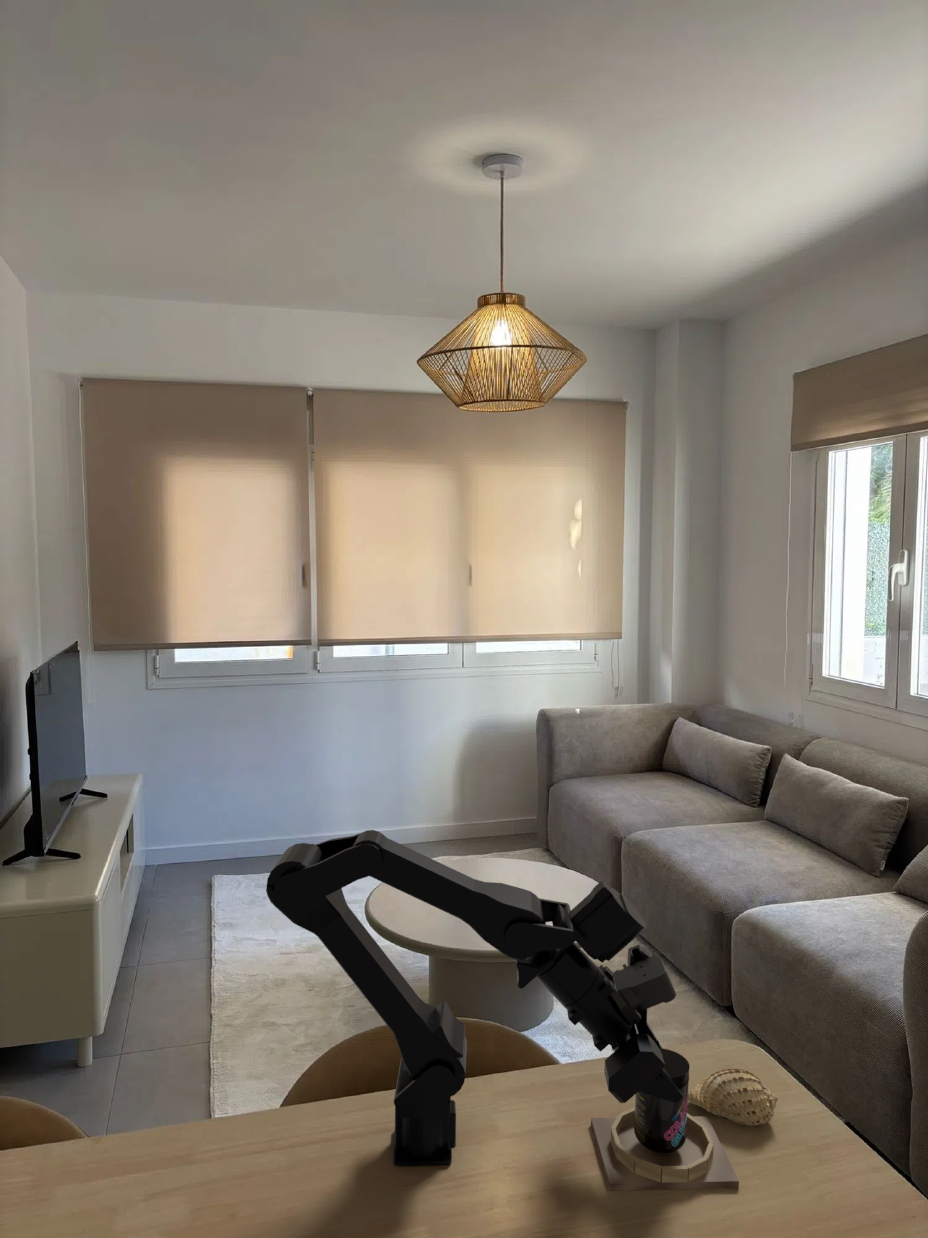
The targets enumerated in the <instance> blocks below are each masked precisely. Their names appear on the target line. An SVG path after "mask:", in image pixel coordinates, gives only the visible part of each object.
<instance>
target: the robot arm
mask: <svg viewBox="0 0 928 1238" xmlns="http://www.w3.org/2000/svg"><path fill="white" fill-rule="evenodd" d="M368 877H371V878H373V879H375V880H377V881H379V882H381V883H383V884H386V885H388V886H390V887H392V888H393V889H396V890H398V891H400V892H403V893H405V894H407V895H409V896H411V897H413V898H416V899H417V900H420V901H422V902H424V903H425V904H427V905H430V906H432V907H434V908H436V909H438V910H440V911H443V912H444V913H447V914H449V915H450V916H453V917H455V918H457V919H460V921H462V922H464V923H465V924H467V925H469V927H470V928H471V929H472V930H473V931H474V932H475V933H476V934H477V935H478V936H479V937H480V938H481V939H482V940H483V941H484V942H486V943H487V944H489V945H490V946H491V947H493V948H494V949H495V950H497V951H499V952H500V953H501V954H502V955H504V956H506V957H508V958H509V959H512V960H515V965H516V969H517V970H516V978H517V979H516V981H517V982H516V983H517V987H518V989H521V990H522V989H524V988H526V986H527V985H529V984H530V983H531V982H532V981H533V980H534V979H535V978H536V979H537V980H538V981H539V982H540V984H541V985H543V987H545V988H546V989H547V991H548V992H549V993H550V994H552V996H553V997H554V998H555V999H556V1000H557V1001H558V1002H559V1003H560V1004H561V1005H562V1006H563V1007H564V1008H565V1009H566V1010H567V1011H566V1012H567V1017H568V1020H569V1022H571V1023H572V1024H573V1025H574V1026H576V1025H577V1024H578V1023H579V1024H580V1025H581V1026H582V1027H583V1028H584V1029H585V1030H586V1031H587V1032H588V1033H589V1034H590V1035H591V1037H592V1041H593V1046H594V1047H595V1048H596V1049H597V1050H598V1051H599V1052H600V1053H601V1052H602V1051H604V1049H606V1047H608V1046H610V1047H611V1050H612V1051H613V1052H612V1053H611V1054H610V1055H609V1056H608V1057H607V1058H605V1059H604V1070H603V1072H604V1075H605V1081H606V1086H607V1091H608V1092H609V1093H610V1094H611V1095H612V1096H613V1097H614V1098H615V1100H617V1101H618V1102H619V1103H620V1104H625V1103H626V1102H628V1101H629V1100H630V1099H632V1098H633V1097H634V1096H635V1095H636V1093H637V1092H641V1093H645V1094H648V1095H652V1096H655V1097H658V1098H661V1099H664V1100H667V1101H670V1102H674V1103H678V1102H679V1101H680V1100H681V1099H682V1098H683V1095H682V1093H681V1092H680V1090H679V1089H678V1087H677V1086H676V1084H675V1083H674V1081H673V1080H672V1078H671V1077H670V1075H669V1074H668V1073H667V1071H666V1070H665V1068H664V1065H665V1063H664V1060H663V1053H662V1050H661V1048H662V1049H664V1047H663V1046H662V1044H661V1042H660V1041H659V1040H658V1038H657V1036H656V1034H655V1033H654V1031H653V1029H652V1028H651V1026H650V1024H649V1023H648V1009H650V1008H652V1007H655V1006H658V1005H659V1004H662V1003H665V1004H667V1003H669V1002H670V1003H671V1002H672V1001H674V1000H675V999H676V997H677V991H676V990H675V987H674V984H673V982H672V981H671V978H670V976H669V975H670V974H669V973H668V971H667V969H666V966H665V964H664V962H663V960H662V957H661V955H657V954H656V952H655V951H653V952H652V953H651V952H650V951H648V950H647V949H646V948H645V947H643V946H642V945H641V944H636V945H634V946H631V947H629V948H628V950H627V964H626V963H624V964H622V967H623V968H622V969H616V970H615V971H614V972H613V971H612V970H611V969H610V967H608V966H607V965H605V966H604V965H603V964H600V965H599V966H598V965H596V964H595V962H594V961H593V960H597V961H599V962H600V963H604V962H605V961H608V962H609V961H611V960H612V959H613V958H614V957H615V956H617V955H618V953H620V952H621V951H623V950H624V948H626V947H627V946H628V945H629V944H630V943H632V941H633V940H634V939H636V938H637V937H638V936H639V935H641V933H642V932H643V931H645V930H646V929H647V928H648V925H647V923H646V921H645V919H644V918H643V917H642V915H641V913H640V912H639V910H638V909H636V907H635V906H634V904H632V902H631V901H630V900H629V899H628V898H627V896H625V895H624V894H623V893H622V892H621V893H619V891H618V890H616V889H615V888H613V887H611V886H609V885H608V884H607V882H605V881H604V880H601V881H599V882H598V884H596V885H595V886H594V887H593V888H592V890H591V891H590V893H589V894H587V896H585V897H584V898H583V899H582V900H581V901H580V902H578V904H576V905H575V907H573V908H572V909H571V906H570V904H569V903H568V902H563V901H556V900H550V899H545V898H539V897H538V896H537V895H536V894H535V893H534V892H532V891H530V890H527V889H525V888H521V887H518V886H514V885H510V884H506V883H502V882H491V881H482V880H478V879H476V878H473V877H471V876H469V875H466V873H465V874H464V873H463V872H460V871H458V870H456V869H453V868H452V867H449V866H447V865H446V864H443V863H441V862H439V861H437V860H435V859H433V858H430V857H429V856H426V855H424V854H422V853H420V852H418V851H416V850H414V849H411V848H409V847H407V846H405V845H403V844H401V843H399V842H397V841H395V840H393V839H390V838H388V837H387V836H386V835H384V834H383V833H382V832H380V831H379V830H378V831H377V830H375V829H369V830H368V829H367V830H365V831H363V832H360V833H357V834H354V835H350V836H342V837H336V838H331V839H328V840H325V841H322V842H319V843H316V844H314V843H306V842H302V843H301V842H300V843H295V844H293V845H292V846H291V845H290V846H289V847H288V848H287V849H286V850H285V851H284V852H283V853H282V854H281V856H280V858H279V859H278V860H277V862H276V863H275V864H274V866H273V868H272V870H271V871H270V872H269V875H268V877H267V881H266V890H265V892H266V895H267V898H268V899H269V901H270V904H272V905H273V906H274V908H276V909H277V910H278V911H279V912H280V913H281V914H282V915H284V916H285V917H286V918H287V919H288V920H289V921H290V922H291V923H293V925H295V926H298V927H300V928H302V929H304V930H306V931H308V932H309V933H311V934H314V935H315V936H316V937H317V938H318V939H319V940H320V941H321V943H322V944H323V945H324V946H325V948H326V949H327V951H328V952H329V953H330V955H331V956H332V957H333V959H334V960H335V961H336V962H337V963H338V965H339V966H340V967H341V968H342V969H343V970H344V972H345V973H346V975H347V976H348V977H349V979H350V980H351V981H352V982H353V984H354V985H355V986H356V988H358V990H359V991H360V993H361V994H362V995H363V996H364V998H365V999H366V1001H368V1003H369V1004H370V1005H371V1007H372V1008H373V1009H374V1010H375V1012H376V1013H377V1014H378V1015H379V1016H380V1018H381V1020H382V1021H383V1022H384V1023H385V1024H386V1026H387V1027H388V1028H389V1031H391V1032H392V1034H393V1036H394V1039H395V1041H396V1044H397V1047H398V1050H399V1053H400V1056H401V1057H400V1063H399V1069H398V1075H397V1081H396V1086H395V1091H394V1097H393V1098H394V1099H393V1105H394V1137H393V1155H392V1163H393V1165H394V1166H432V1165H434V1166H435V1165H437V1166H438V1165H439V1166H440V1165H442V1166H443V1165H450V1164H451V1163H452V1161H453V1160H452V1158H453V1157H452V1156H453V1155H452V1154H453V1153H452V1149H455V1147H456V1143H457V1142H456V1140H457V1138H456V1136H457V1109H456V1107H457V1106H456V1101H455V1100H454V1099H451V1098H452V1097H453V1096H455V1095H457V1094H458V1093H459V1092H460V1090H461V1089H462V1087H463V1086H464V1084H465V1079H466V1073H467V1072H466V1069H467V1068H466V1067H467V1048H468V1040H467V1037H466V1033H465V1028H466V1027H465V1026H466V1024H465V1023H464V1022H462V1021H460V1020H459V1019H458V1018H457V1017H456V1016H455V1015H454V1013H453V1011H452V1009H451V1008H450V1007H449V1004H448V1002H446V1001H445V1000H442V1001H441V1002H440V1003H438V1005H437V1006H436V1007H435V1006H433V1005H431V1004H428V1003H426V1002H425V1001H423V1000H422V998H420V997H419V995H418V994H417V993H416V992H415V990H414V989H413V987H412V986H411V985H410V984H409V982H408V981H407V980H406V979H405V978H404V976H403V975H402V974H401V972H400V971H399V970H398V968H397V967H396V965H395V964H394V963H393V962H392V960H391V959H390V958H389V957H388V955H386V952H385V951H384V950H383V949H382V948H381V947H380V945H379V944H378V942H377V941H376V940H375V939H374V937H373V936H372V935H371V934H370V933H369V931H368V930H367V928H366V927H365V926H364V924H363V923H362V922H361V921H360V919H359V918H358V917H357V915H356V914H355V913H354V912H353V911H352V909H351V908H350V907H349V905H348V903H347V900H346V898H345V895H344V893H343V888H345V887H346V886H348V885H350V884H353V883H354V882H356V881H358V880H361V879H364V878H368ZM550 922H551V923H552V925H549V924H547V923H550ZM575 942H576V943H577V944H576V943H575ZM578 945H579V946H580V947H579V946H578ZM581 948H582V949H581ZM591 958H592V959H591Z"/></svg>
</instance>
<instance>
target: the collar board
mask: <svg viewBox="0 0 928 1238" xmlns="http://www.w3.org/2000/svg"><path fill="white" fill-rule="evenodd" d="M634 1119H635V1106H633V1107H631V1108H629V1109H626V1110H623V1111H622V1112H620V1113H618V1114H617V1115H616V1117H591V1118H590V1126H591V1129H592V1132H593V1137H594V1141H595V1144H596V1147H597V1150H598V1154H599V1158H600V1161H601V1165H602V1168H603V1172H604V1176H605V1180H606V1182H607V1186H608V1189H609V1191H613V1192H614V1191H654V1190H655V1191H657V1190H660V1191H664V1190H665V1191H666V1190H667V1191H668V1190H705V1189H706V1190H708V1189H709V1190H711V1189H713V1190H714V1189H715V1190H716V1189H740V1180H739V1178H738V1176H737V1174H736V1172H735V1170H734V1168H733V1166H732V1164H731V1162H730V1160H729V1158H728V1155H727V1154H726V1151H725V1150H724V1148H723V1144H721V1142H720V1139H719V1137H718V1135H717V1133H716V1130H714V1127H713V1125H712V1123H711V1121H710V1118H709V1117H708V1116H707V1115H705V1116H700V1115H699V1116H696V1115H695V1116H692V1115H691V1114H689V1113H688V1112H687V1126H686V1141H685V1143H684V1145H683V1146H682V1147H681V1148H680V1149H679V1150H677V1151H675V1152H672V1153H658V1152H654V1151H651V1150H649V1149H647V1148H646V1147H644V1146H643V1145H642V1144H641V1143H640V1142H639V1141H638V1140H637V1138H636V1136H635V1133H634Z"/></svg>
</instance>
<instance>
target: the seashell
mask: <svg viewBox="0 0 928 1238" xmlns="http://www.w3.org/2000/svg"><path fill="white" fill-rule="evenodd" d="M778 1100H779V1098H777V1097H776V1096H775V1094H774V1093H772V1091H771V1089H769V1088H768V1087H767V1086H765V1085H764V1084H763V1083H762V1081H761V1078H759V1077H757V1075H755V1074H754V1073H752V1072H750V1071H748V1070H744V1069H739V1068H728V1069H727V1068H726V1069H722V1070H721V1069H720V1070H719V1071H715V1072H714V1073H711V1074H710V1075H708V1076H707V1077H706V1078H705V1079H704V1080H703V1081H700V1082H699V1083H698V1084H697V1085H695V1087H694V1088H691V1089H690V1090H688V1102H690V1104H692V1105H695V1106H699V1107H701V1108H702V1109H704V1110H706V1111H707V1112H709V1113H712V1114H713V1115H715V1116H718V1117H722V1118H726V1119H728V1120H730V1121H732V1122H735V1123H737V1124H738V1125H742V1126H747V1127H751V1126H752V1127H754V1126H760V1125H765V1124H768V1123H769V1122H771V1120H772V1119H773V1118H774V1117H775V1109H776V1108H777V1101H778Z"/></svg>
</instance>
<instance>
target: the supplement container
mask: <svg viewBox="0 0 928 1238" xmlns="http://www.w3.org/2000/svg"><path fill="white" fill-rule="evenodd" d="M661 1050H662V1053H663V1060H664V1063H665V1065H664V1068H665V1070H666V1071H667V1073H668V1074H669V1075H670V1077H671V1078H672V1080H673V1081H674V1083H675V1084H676V1086H677V1087H678V1089H679V1090H680V1092H681V1093H682V1095H683V1098H682V1099H681V1100H680V1101H679V1102H678V1103H674V1102H670V1101H667V1100H664V1099H661V1098H658V1097H655V1096H652V1095H648V1094H645V1093H641V1092H637V1093H636V1094H635V1095H634V1096H635V1099H634V1100H635V1101H634V1107H635V1119H634V1133H635V1136H636V1138H637V1140H638V1141H639V1142H640V1143H641V1144H642V1145H643V1146H644V1147H646V1148H647V1149H649V1150H651V1151H654V1152H658V1153H672V1152H675V1151H677V1150H679V1149H680V1148H681V1147H682V1146H683V1145H684V1143H685V1141H686V1126H687V1113H688V1105H689V1104H688V1103H689V1101H688V1091H689V1084H690V1083H689V1082H690V1062H689V1061H688V1060H687V1058H685V1057H684V1056H683V1055H682V1054H680V1053H678V1052H677V1051H674V1050H670V1049H667V1048H663V1049H662V1048H661Z"/></svg>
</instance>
